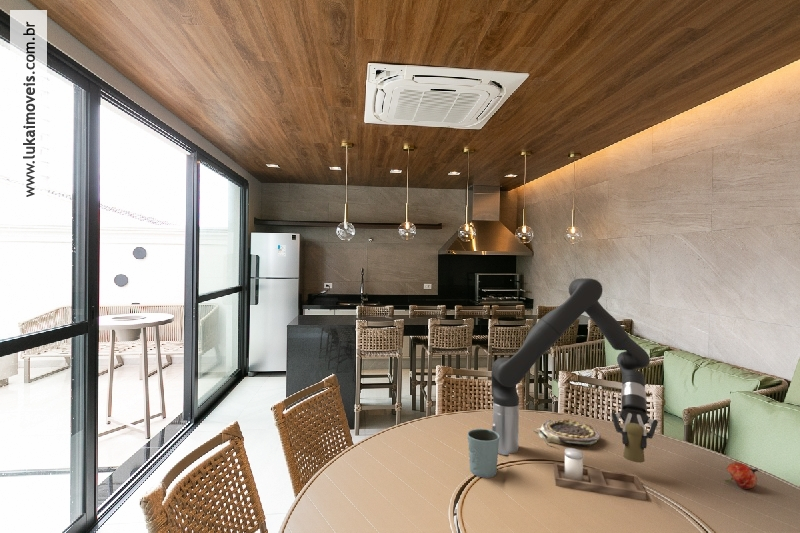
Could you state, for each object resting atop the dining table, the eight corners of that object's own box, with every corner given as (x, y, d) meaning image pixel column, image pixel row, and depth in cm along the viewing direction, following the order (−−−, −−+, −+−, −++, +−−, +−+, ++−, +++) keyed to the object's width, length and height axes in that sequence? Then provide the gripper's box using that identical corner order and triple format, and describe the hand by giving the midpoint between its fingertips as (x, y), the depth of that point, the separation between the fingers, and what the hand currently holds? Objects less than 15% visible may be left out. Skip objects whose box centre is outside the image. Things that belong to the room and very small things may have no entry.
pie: (563, 422, 180) (563, 410, 180) (624, 445, 157) (625, 432, 157) (519, 434, 165) (520, 422, 165) (580, 462, 142) (580, 447, 142)
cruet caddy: (555, 488, 122) (555, 478, 122) (553, 472, 133) (553, 462, 133) (646, 503, 115) (646, 493, 115) (636, 484, 125) (636, 475, 125)
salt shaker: (565, 482, 124) (565, 454, 124) (563, 474, 129) (564, 447, 129) (583, 485, 123) (584, 456, 123) (581, 477, 128) (581, 449, 128)
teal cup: (501, 468, 135) (502, 431, 135) (495, 482, 126) (495, 443, 126) (471, 461, 139) (472, 426, 139) (463, 474, 130) (464, 437, 130)
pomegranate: (729, 495, 125) (763, 485, 119) (712, 469, 129) (744, 459, 123) (736, 490, 129) (770, 481, 123) (720, 466, 133) (752, 456, 127)
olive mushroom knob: (647, 463, 128) (648, 428, 128) (626, 461, 129) (627, 426, 129) (640, 455, 134) (641, 421, 134) (620, 453, 135) (621, 419, 135)
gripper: (610, 389, 142) (609, 436, 131) (658, 396, 135) (661, 446, 124) (610, 401, 146) (609, 447, 135) (656, 408, 140) (659, 457, 129)
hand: (634, 446), depth 130 cm, fingers closed on olive mushroom knob, 4 cm apart
